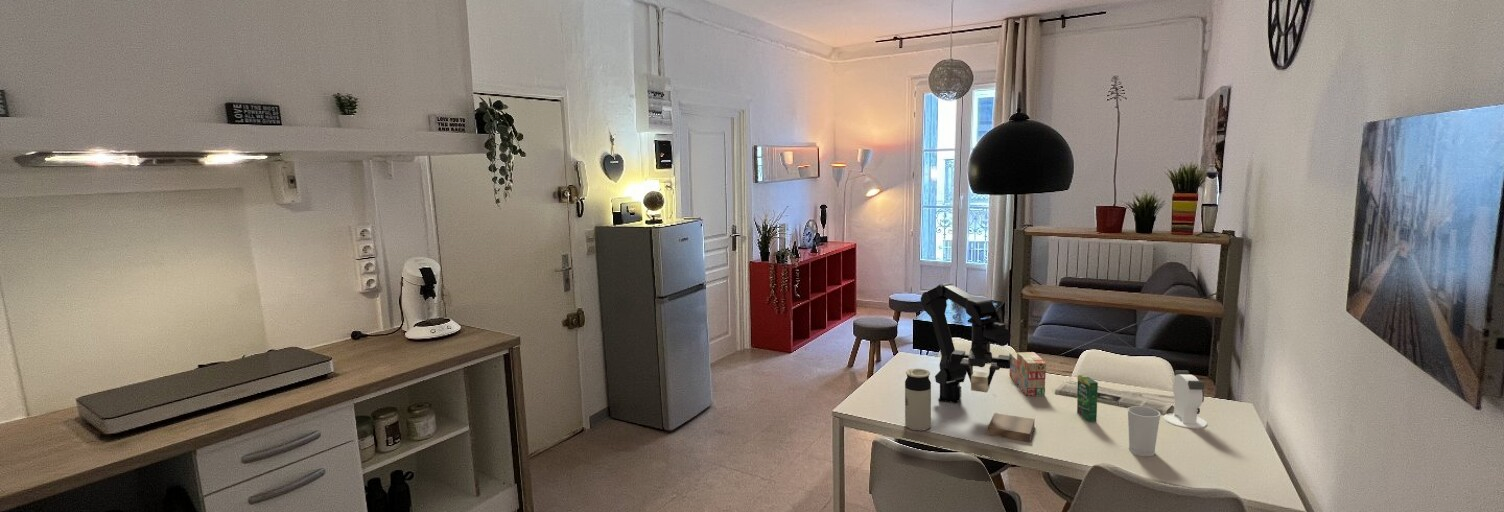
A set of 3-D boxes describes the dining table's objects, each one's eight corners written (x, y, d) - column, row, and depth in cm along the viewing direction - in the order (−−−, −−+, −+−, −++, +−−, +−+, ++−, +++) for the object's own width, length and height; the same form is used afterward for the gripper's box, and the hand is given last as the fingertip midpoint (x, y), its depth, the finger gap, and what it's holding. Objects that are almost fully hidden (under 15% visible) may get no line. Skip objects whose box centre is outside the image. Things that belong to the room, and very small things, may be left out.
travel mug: (931, 422, 214) (931, 368, 211) (929, 432, 206) (929, 377, 204) (906, 420, 216) (906, 367, 214) (903, 429, 209) (903, 375, 206)
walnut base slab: (987, 434, 203) (987, 427, 202) (994, 420, 213) (994, 413, 213) (1029, 441, 197) (1029, 433, 197) (1034, 426, 207) (1034, 419, 207)
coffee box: (1075, 412, 217) (1077, 374, 215) (1084, 412, 217) (1086, 374, 215) (1087, 422, 209) (1089, 383, 207) (1096, 422, 209) (1098, 382, 207)
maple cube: (970, 390, 216) (971, 375, 215) (973, 385, 220) (974, 371, 219) (986, 392, 213) (987, 377, 213) (989, 387, 218) (989, 372, 217)
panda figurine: (1215, 429, 200) (1218, 382, 198) (1174, 428, 202) (1177, 381, 200) (1195, 414, 212) (1198, 369, 209) (1157, 413, 214) (1159, 368, 211)
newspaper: (1054, 394, 234) (1055, 385, 234) (1065, 384, 243) (1065, 375, 243) (1171, 417, 211) (1171, 407, 211) (1177, 405, 221) (1178, 395, 220)
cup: (1119, 446, 192) (1121, 407, 190) (1145, 444, 192) (1147, 405, 191) (1137, 458, 184) (1139, 418, 182) (1164, 456, 185) (1167, 415, 183)
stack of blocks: (1008, 375, 254) (1009, 344, 252) (1025, 375, 253) (1026, 344, 252) (1026, 396, 233) (1027, 362, 231) (1045, 396, 232) (1046, 362, 231)
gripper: (946, 341, 212) (945, 388, 214) (1007, 348, 203) (1006, 396, 205) (953, 333, 221) (953, 377, 224) (1012, 338, 212) (1012, 385, 215)
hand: (980, 384), depth 217 cm, fingers closed on maple cube, 5 cm apart
